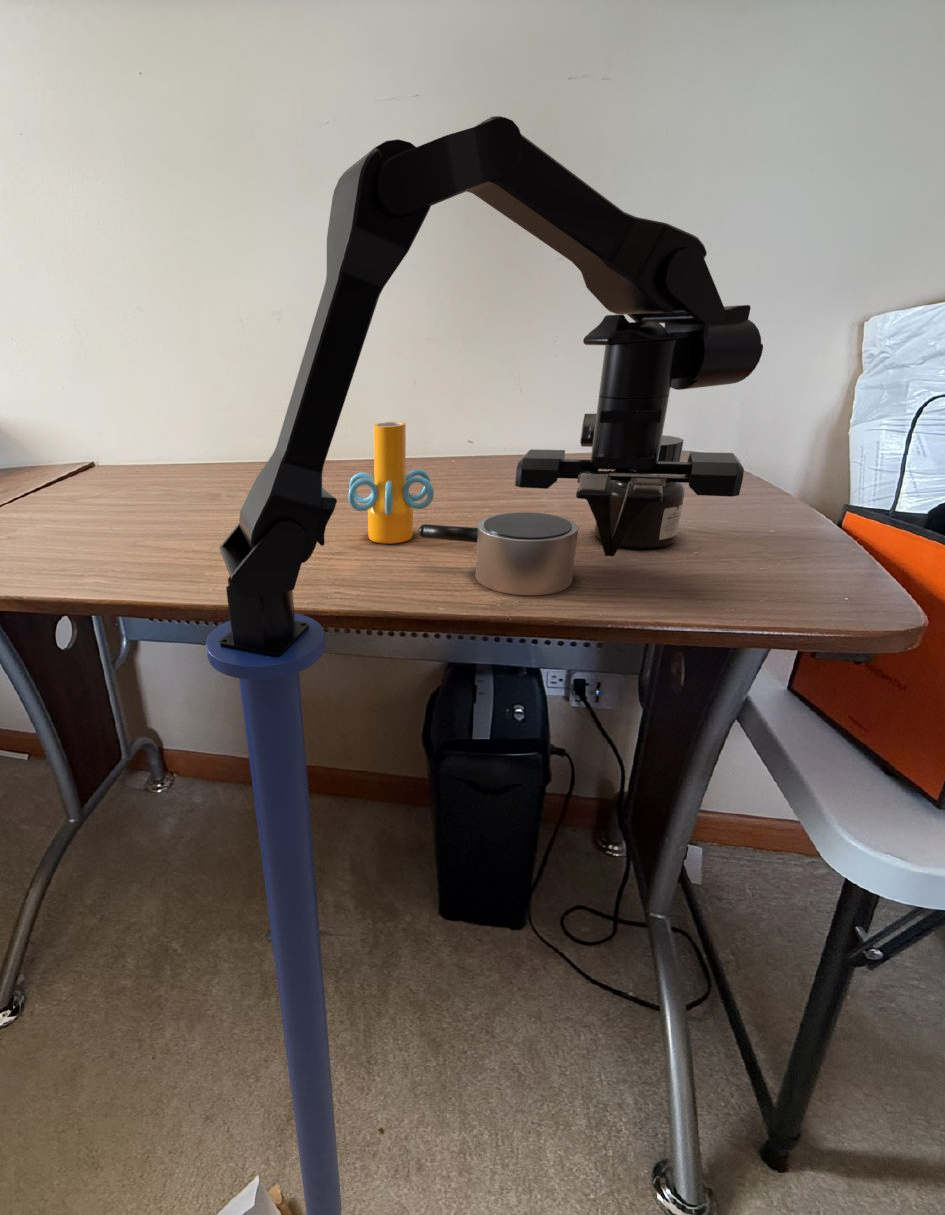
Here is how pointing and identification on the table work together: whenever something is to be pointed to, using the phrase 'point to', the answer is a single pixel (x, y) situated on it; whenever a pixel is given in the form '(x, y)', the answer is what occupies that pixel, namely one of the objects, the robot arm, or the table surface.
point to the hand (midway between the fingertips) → (609, 554)
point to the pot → (518, 551)
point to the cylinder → (390, 487)
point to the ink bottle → (653, 506)
